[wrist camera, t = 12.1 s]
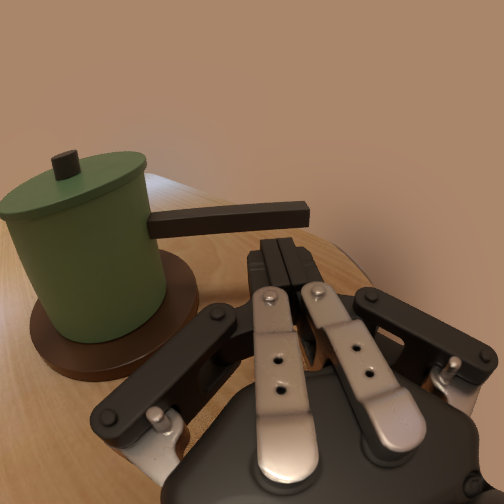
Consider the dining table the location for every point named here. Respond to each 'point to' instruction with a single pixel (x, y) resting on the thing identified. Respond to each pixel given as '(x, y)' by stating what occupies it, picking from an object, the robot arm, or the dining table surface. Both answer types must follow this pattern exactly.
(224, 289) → the dining table surface
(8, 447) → the dining table surface
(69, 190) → the pot
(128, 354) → the disc
